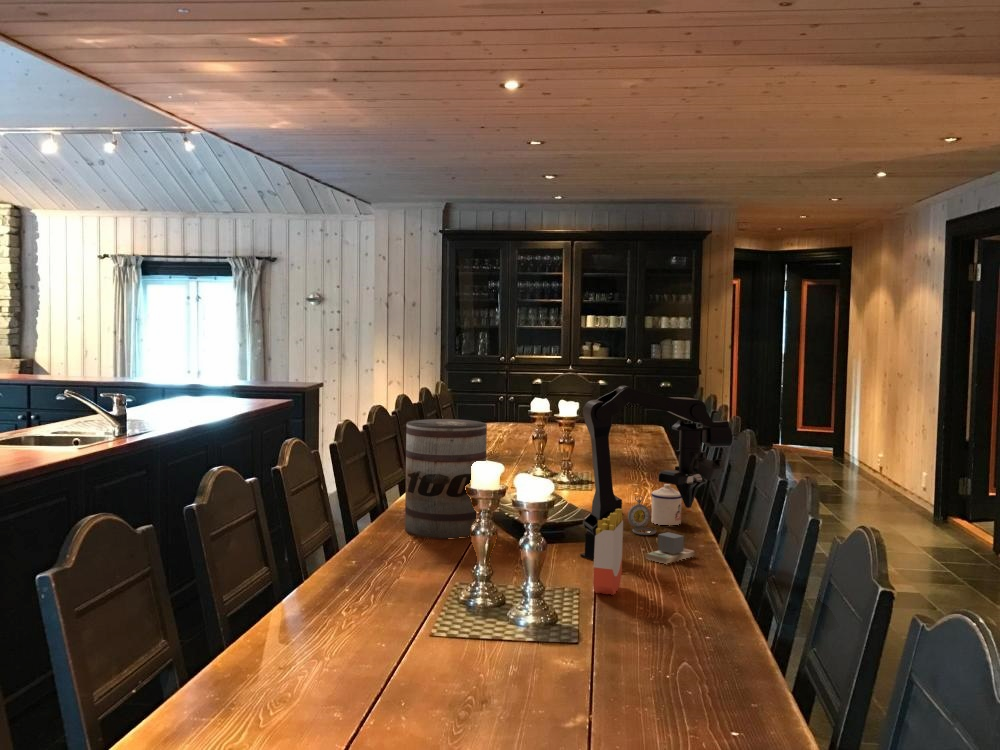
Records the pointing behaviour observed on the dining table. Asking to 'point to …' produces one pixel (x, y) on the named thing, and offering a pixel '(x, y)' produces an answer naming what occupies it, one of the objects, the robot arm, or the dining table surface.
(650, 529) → the pocket watch
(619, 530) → the french fries container
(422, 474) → the barrel
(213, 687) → the dining table surface
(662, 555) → the cream flat rectangular block
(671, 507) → the teacup with lid
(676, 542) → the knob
